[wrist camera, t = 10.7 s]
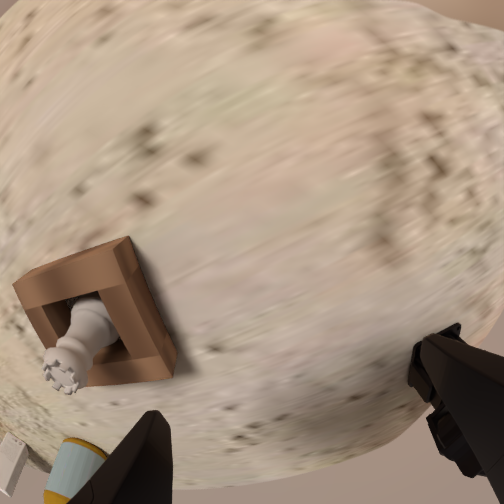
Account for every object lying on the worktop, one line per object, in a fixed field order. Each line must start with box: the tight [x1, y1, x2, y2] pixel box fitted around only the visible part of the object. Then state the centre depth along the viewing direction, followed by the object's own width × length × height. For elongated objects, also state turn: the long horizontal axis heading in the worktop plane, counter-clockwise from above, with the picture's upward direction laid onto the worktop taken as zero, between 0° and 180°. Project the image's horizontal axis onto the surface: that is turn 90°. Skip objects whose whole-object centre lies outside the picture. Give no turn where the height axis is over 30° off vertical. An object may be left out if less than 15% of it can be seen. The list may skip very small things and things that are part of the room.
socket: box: [12, 236, 178, 387], centre depth 18 cm, size 10×10×3 cm
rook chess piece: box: [42, 291, 120, 395], centre depth 16 cm, size 4×4×8 cm
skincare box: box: [0, 432, 29, 497], centre depth 21 cm, size 6×4×12 cm
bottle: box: [44, 438, 107, 504], centre depth 19 cm, size 7×7×15 cm
